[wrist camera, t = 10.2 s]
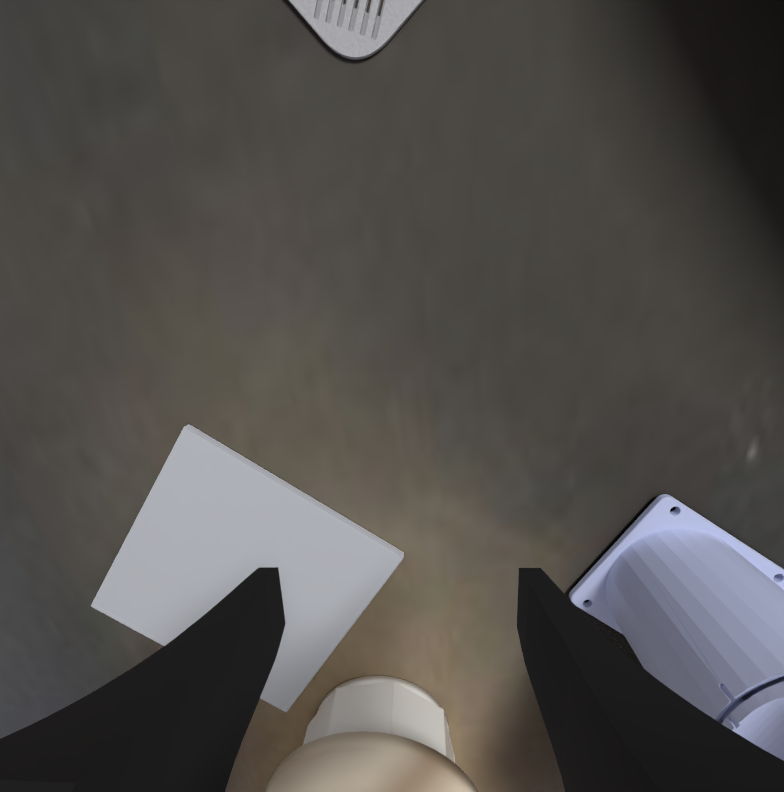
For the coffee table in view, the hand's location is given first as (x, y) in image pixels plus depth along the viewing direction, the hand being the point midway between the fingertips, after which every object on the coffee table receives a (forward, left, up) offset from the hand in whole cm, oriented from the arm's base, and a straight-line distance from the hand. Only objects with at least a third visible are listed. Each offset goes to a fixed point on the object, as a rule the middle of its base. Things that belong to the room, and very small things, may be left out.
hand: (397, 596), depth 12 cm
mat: (+4, +12, -10) cm, 16 cm away
